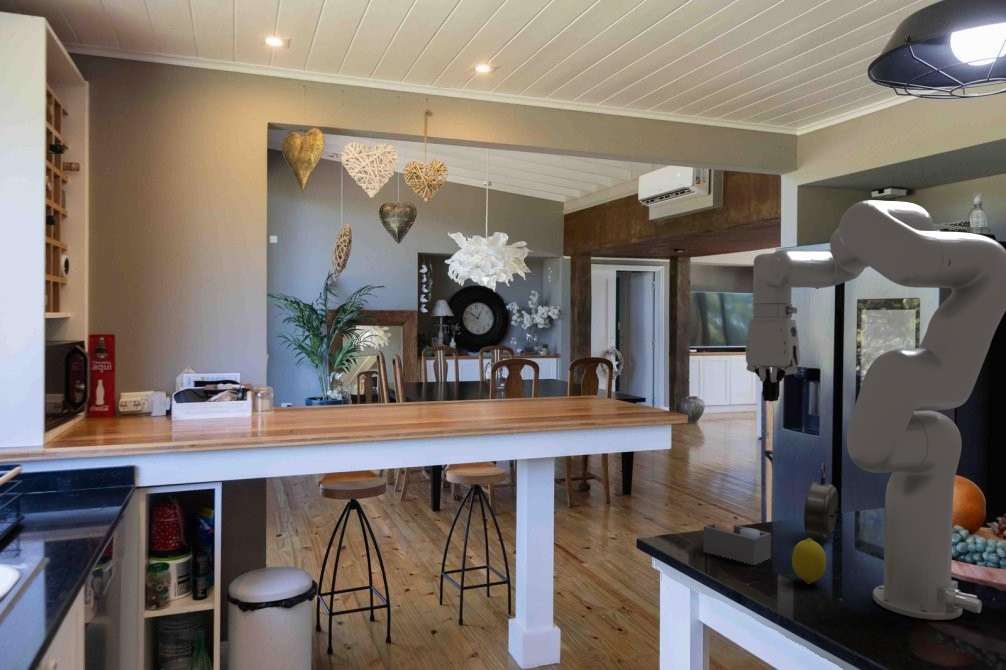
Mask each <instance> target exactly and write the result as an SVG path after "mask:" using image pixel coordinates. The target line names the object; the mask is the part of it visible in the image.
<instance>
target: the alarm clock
mask: <svg viewBox="0 0 1006 670" xmlns="http://www.w3.org/2000/svg"><path fill="white" fill-rule="evenodd" d="M820 473H821V474H820V475H821V477H820V482H817V481H813V482H812V483H811V484H810V486H809V487H808V490H807V493H806V499H805V504H804V513H803V515H804V516H803V526H804V531H805V533H806V534H807V535H810V536H811V537H810V539H812V540H813V541H815V539H816V537H820V538H824V539H826V538H829V539H830V541H831V542H832V543H834V542H835V541H834V539H833V537H832V535H833V532H834V530H835V528H836V524H837V518H838V514H839V511H840V508H839V493H838V490H837V488H836V487H835V486H834V485H833V484H829V483H826V478H827V477H826V464H825V463H823V462H822V463H821V471H820Z"/></svg>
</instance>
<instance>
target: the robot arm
mask: <svg viewBox="0 0 1006 670" xmlns="http://www.w3.org/2000/svg"><path fill="white" fill-rule="evenodd" d="M868 267H870V268H872V269H873V271H875V272H877V273H878V274H880V275H882V276H883V277H884V278H886V279H887V280H888V281H891V282H892V283H893V284H896V285H899V286H901V287H906V288H920V289H921V288H924V289H925V288H926V289H929V288H931V289H940V288H941V289H949V288H950V289H951V293H950V295H949V296H948V297H946V299H945V300H944V301H943V302H942V303H941V304H940V305H938V306H939V307H937V309H936V310H935V311H934V312H933V314H932V316H931V318H930V319H929V322H928V325H927V329H926V332H925V333H924V336H923V338H922V341H921V343H920V344H919V346H918V347H916V348H901V349H894V350H888V351H886V352H884V353H882V354H880V355H879V356H878V357H876V358H875V360H873V361H872V363H871V364H870V365H869V367H868V369H867V371H866V373H865V375H864V378H863V380H862V384H861V387H860V389H859V392H858V395H857V398H856V402H855V405H854V409H853V411H852V414H851V417H850V421H849V424H848V427H847V433H846V447H847V452H848V455H849V457H850V459H851V460H852V462H853V463H854V464H855V466H857V467H858V468H860V469H861V470H863V471H866V472H869V473H876V474H877V473H878V474H883V473H884V474H885V473H890V474H891V475H890V478H889V480H888V482H887V485H886V490H885V495H884V496H885V497H884V540H883V541H884V546H883V547H884V549H883V550H884V551H883V556H884V558H883V584H882V585H879V586H877V587H874V589H873V590H872V599H873V601H874V602H875V603H876V604H878V605H879V606H880V607H882V608H884V609H886V610H888V611H891V612H894V613H896V614H899V615H902V616H906V617H911V618H916V619H922V620H930V621H945V620H953V619H956V618H959V617H961V615H962V614H963V609H965V610H967V611H969V612H972V613H978V614H980V613H981V611H982V608H983V607H982V606H983V605H982V604H983V603H982V601H981V600H980V599H978V595H975V594H971V593H965V592H962V591H961V590H960V589H959V588H958V587H959V586H958V584H959V583H958V581H956V580H952V566H953V565H952V564H953V563H952V561H953V560H952V559H953V558H952V557H953V517H954V516H953V515H954V514H953V513H954V493H955V492H954V489H955V481H956V475H957V470H958V466H959V462H960V458H961V453H962V447H963V446H962V445H963V443H962V436H961V432H960V430H959V428H958V426H957V425H956V423H955V422H954V421H953V420H952V419H951V418H949V417H948V416H947V415H945V414H943V413H940V412H938V411H942V410H945V411H946V410H951V409H955V408H959V407H961V406H962V405H964V404H965V403H966V402H967V401H968V399H969V398H970V396H971V395H972V392H973V390H974V387H975V385H976V382H977V380H978V377H979V375H980V372H981V370H982V368H983V364H984V362H985V359H986V357H987V354H988V352H989V349H990V347H991V344H992V340H993V338H994V336H995V333H996V330H997V328H998V327H999V324H1000V322H1001V320H1002V319H1003V316H1004V314H1005V313H1006V249H1005V247H1004V246H1003V245H1002V244H1001V243H1000V242H998V241H997V240H995V239H993V238H991V237H988V236H985V235H981V234H978V233H970V232H961V231H959V232H958V231H934V222H933V219H932V217H931V215H930V213H929V212H928V211H927V210H926V209H925V208H924V207H922V206H920V205H918V204H916V203H912V202H906V201H896V200H894V201H893V200H892V201H891V200H877V199H876V200H873V199H867V200H861V201H858V202H856V203H854V204H852V205H851V206H850V207H848V209H847V210H846V211H845V212H844V214H842V216H841V217H840V220H839V225H838V227H837V229H836V230H834V232H833V233H832V235H831V237H830V241H829V249H825V250H823V249H820V250H819V249H796V248H795V249H792V248H791V249H788V248H787V249H780V250H777V251H774V252H773V253H772V252H768V253H761V254H758V255H756V256H755V257H754V260H753V272H752V273H753V276H752V279H753V280H752V281H753V282H752V286H753V287H752V289H753V290H752V291H753V293H752V319H750V320H749V323H748V327H747V333H746V342H745V363H746V370H747V371H748V372H751V373H753V374H756V375H757V376H758V378H759V380H760V382H762V385H761V386H762V388H761V391H762V394H761V395H762V399H763V401H764V402H778V401H779V397H780V391H781V390H780V383H781V382H782V381H783V379H784V378H785V377H786V376H788V375H789V376H790V375H793V374H797V373H798V369H797V366H799V365H800V356H801V355H800V351H801V350H800V341H799V332H798V326H797V322H796V319H792V317H793V315H796V314H797V313H798V309H797V307H794V306H793V304H792V288H812V289H813V288H815V289H818V288H819V289H823V288H824V289H825V288H831V287H835V286H839V285H841V284H843V283H848V282H850V281H852V280H854V279H857V278H858V277H859V276H860V275H861V274H862V273H863V272H864V270H865V269H866V268H868Z"/></svg>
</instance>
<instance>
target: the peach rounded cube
mask: <svg viewBox="0 0 1006 670" xmlns="http://www.w3.org/2000/svg"><path fill="white" fill-rule="evenodd" d="M733 524H734V523H732V522H727V521H722V522H720V521H716V522H715V528H716V529H720V530H724V531H728V532H732V533H734V525H735V524H734V525H733Z"/></svg>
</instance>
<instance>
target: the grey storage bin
mask: <svg viewBox="0 0 1006 670" xmlns="http://www.w3.org/2000/svg"><path fill="white" fill-rule="evenodd" d="M719 522H723V521H722V520H720V521H719ZM715 523H716V522H715ZM715 523H710V524H707V525H705V526H703V553H707V554H710V555H713V554H714V556H717V555H718V557H720V556H722V557H721V558H724V557H726V558H725V559H727V558H729V559H728V560H731V559H733V560H732V561H734V560H737V561H736V562H738V561H740V562H739V563H741V562H744V563H743V564H745V563H747V564H746V565H748V564H751V565H750V566H752V565H756V564H758V563H760V564H762V563H761V562H763V561H765V560H768V559H770V558H772V557H771V556H772V533H771V532H766V531H763V530H759V531H760V536H759V537H756V538H752V537H748V536H744V535H740V529H742V528H748V527H746V526H742V525H738V524H735V523H732V524H733V525H734V533H732V532H728V531H724V530H720V529H716V528H715ZM770 560H771V559H770ZM768 561H769V560H768ZM765 562H766V561H765ZM763 563H764V562H763ZM758 565H759V564H758ZM756 566H757V565H756Z"/></svg>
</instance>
